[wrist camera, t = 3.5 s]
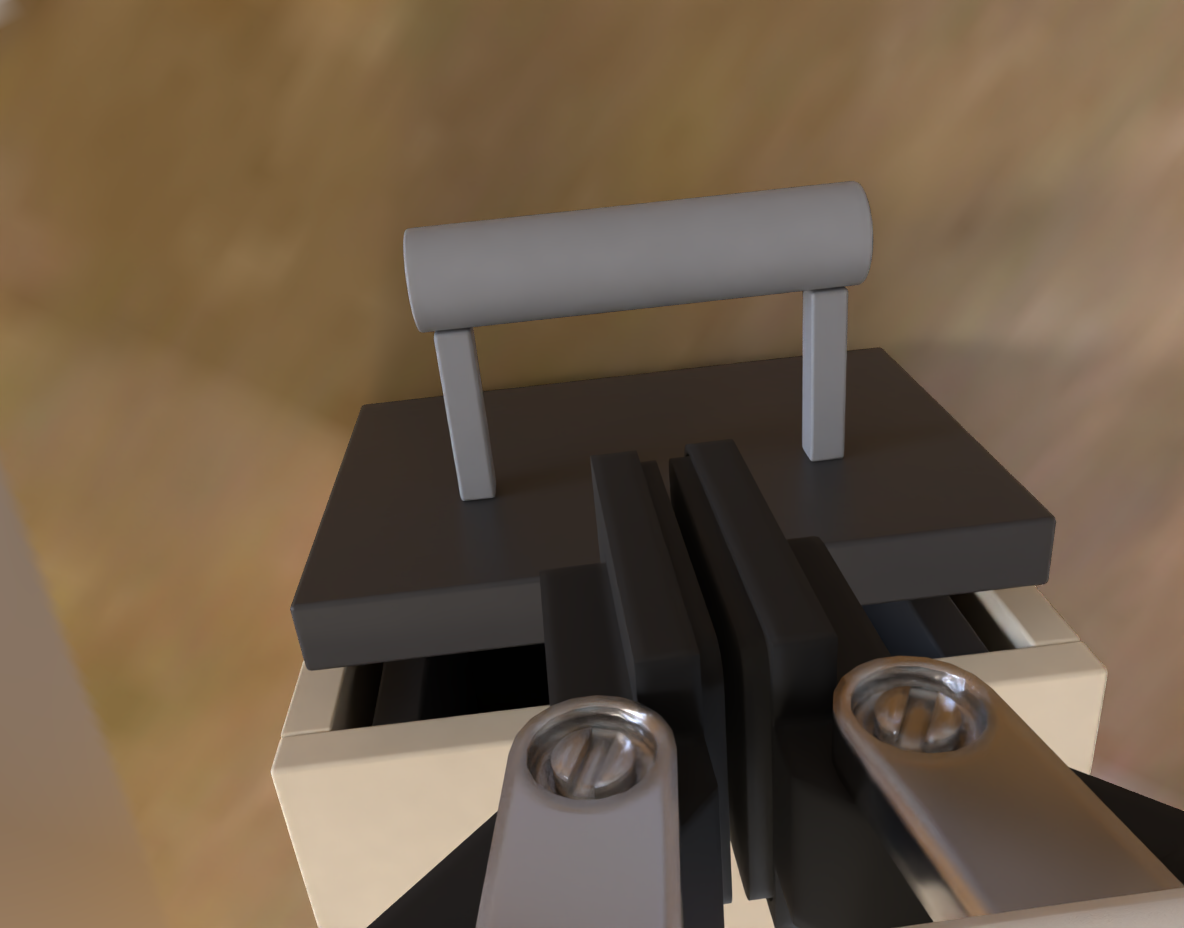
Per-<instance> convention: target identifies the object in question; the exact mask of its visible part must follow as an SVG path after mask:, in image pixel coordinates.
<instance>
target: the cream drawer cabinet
mask: <svg viewBox="0 0 1184 928" xmlns="http://www.w3.org/2000/svg"><path fill="white" fill-rule="evenodd" d="M949 596H950V598H951V599H952V601H953V602H954V603H955V605H956V606H957V607H958V609H959V610H960V612H961V613H962V614H963V616H964V617H965V619H966V620H967V621H968V623H969V624H970V626H971V627H972V628H973V630H974V631H975V633H976V634H977V635H978V637H979V638H980V640H981V641H982V642H983V644H984V645H985V646H986V648H987V649H988V651H989V652H986V653H978V654H969V655H961V656H953V657H944V658H936V659H935V660H939V661H943V662H947V663H951V664H953V665H956V666H958V667H960V668H962V669H964V670H966V671H968V672H970V673H973V674H975V675H976V676H977V677H978V678H980V679H981V680H982V681H983V682H985V683H986V684H987V685H989V686H990V687H991V688H992V689H993V690H994V691H995V692H996V693H997V694H998V695H999V696H1000V697H1001V698H1002V699H1003V700H1004V701H1005V702H1006V703H1007V704H1008V705H1009V706H1010V707H1011V708H1012V709H1013V710H1014V711H1015V712H1016V713H1017V714H1018V715H1019V716H1020V717H1021V718H1022V719H1023V720H1024V721H1025V722H1026V724H1027V725H1028V726H1029V727H1030V728H1031V729H1032V730H1033V731H1034V732H1035V733H1036V734H1037V735H1038V736H1039V737H1040V738H1041V739H1042V740H1043V741H1044V742H1045V743H1046V744H1047V745H1048V746H1049V747H1050V748H1051V749H1052V750H1053V751H1054V752H1055V753H1056V754H1057V755H1058V756H1059V757H1060V758H1061V760H1062V761H1063V762H1064V763H1065V764H1066V765H1067V766H1068V767H1070V768H1073V769H1075V770H1078V771H1080V772H1083V773H1086V774H1088V775H1090V774H1091V768H1092V762H1093V756H1094V751H1095V745H1096V739H1097V733H1098V728H1099V722H1100V716H1101V710H1102V705H1103V699H1104V693H1105V687H1106V682H1107V676H1108V672H1107V669H1106V667H1105V666H1104V665H1103V664H1102V663H1101V662H1100V660H1099V659H1098V658H1097V657H1096V656H1095V655H1094V654H1093V652H1092V651H1091V650H1090V649H1089V648H1088V647H1087V645H1086V644H1085V643H1083V642H1080V638H1079V636H1078V635H1077V634H1076V633H1075V632H1074V630H1073V629H1072V628H1071V627H1070V626H1069V625H1068V623H1067V622H1066V621H1065V620H1064V619H1063V618H1062V617H1061V615H1060V614H1059V613H1058V612H1057V611H1056V610H1055V609H1054V607H1053V606H1052V605H1051V604H1050V603H1049V602H1048V601H1047V599H1046V598H1045V597H1044V596H1043V595H1042V594H1041V593H1040V591H1039V590H1038V589H1037V588H1036V587H1035V586H1034V585H1033V586H1025V587H1016V588H1008V589H999V590H991V591H983V592H974V593H966V594H957V595H949ZM383 665H384V662H382V663H374V664H365V665H357V666H348V667H340V668H331V669H323V670H314V671H310V670H308V669H307V668H306V666H305V662H304V661H303V664H302V668H301V671H300V674H299V677H298V681H297V684H296V687H295V690H294V694H293V697H292V700H291V703H290V707H289V710H288V713H287V716H286V720H285V723H284V726H283V729H282V733H281V737H282V738H281V739H280V742H279V746H278V749H277V752H276V755H275V759H274V762H273V765H272V768H271V775H272V779H273V782H274V785H275V788H276V792H277V795H278V798H279V801H280V805H281V808H282V811H283V814H284V818H285V821H286V824H287V828H288V831H289V834H290V837H291V841H292V844H293V847H294V850H295V854H296V857H297V860H298V863H299V867H300V870H301V873H302V876H303V880H304V883H305V886H306V889H307V893H308V896H309V899H310V902H311V906H312V909H313V912H314V915H315V919H316V922H317V925H318V928H366V927H368V926H369V925H370V924H371V923H372V922H373V921H374V920H375V919H377V918H378V917H379V916H380V915H381V914H382V913H383V912H384V911H386V910H387V909H388V908H389V907H390V906H391V905H392V904H393V903H395V902H396V901H397V900H398V899H399V898H400V897H401V896H402V895H404V894H405V893H406V892H407V891H408V890H409V889H410V888H411V887H413V886H414V885H415V884H416V883H417V882H418V881H419V880H420V879H422V878H423V877H424V876H425V875H426V874H427V873H428V872H429V871H431V870H432V869H433V868H434V867H435V866H436V865H437V864H438V863H440V862H441V861H442V860H443V859H444V858H445V857H446V856H447V855H449V854H450V853H451V852H452V851H453V850H454V849H455V848H456V847H458V846H459V845H460V844H461V843H462V842H463V841H464V840H465V839H467V838H468V837H469V836H470V835H471V834H472V833H473V832H474V831H476V830H477V829H478V828H479V827H480V826H481V825H482V824H483V823H485V822H486V821H487V820H488V819H489V818H490V817H491V816H492V815H494V814H495V813H496V812H497V811H498V806H499V801H500V796H501V791H502V785H503V780H504V775H505V769H506V764H507V759H508V754H509V751H510V748H511V746H512V743H513V741H514V738H515V736H516V734H517V733H518V732H519V731H520V730H521V729H522V727H523V726H524V725H525V724H526V723H527V722H528V721H529V720H530V719H531V718H532V717H534V716H536V715H537V714H539V713H540V712H542V711H543V710H545V709H546V708H548V707H550V705H544V706H536V707H527V708H519V709H511V710H502V711H494V712H486V713H477V714H469V715H461V716H452V717H444V718H436V719H427V720H419V721H411V722H402V723H394V724H386V725H377V726H372V723H373V718H374V713H375V707H376V702H377V697H378V691H379V686H380V681H381V675H382V670H383ZM730 847H731V873H732V903H729V904H724V927H725V928H775V927H774V924H773V920H772V917H771V914H770V910H769V907H768V904H767V900H766V898H765V899H758V900H751V901H749V900H748V899H747V897H746V894H745V891H744V888H743V885H742V881H741V877H740V874H739V870H738V867H737V863H736V859H735V856H734V852H733V849H732V845H731V841H730Z"/></svg>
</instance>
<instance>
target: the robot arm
mask: <svg viewBox="0 0 1184 928" xmlns="http://www.w3.org/2000/svg"><path fill="white" fill-rule="evenodd" d="M591 472H592V482H593V492H594V502H595V512H596V522H597V532H598V542H599V552H600V562H601V563H594V564H586V565H578V566H570V567H562V568H554V569H546V570H539V576H540V589H541V602H542V614H543V627H544V640H545V652H546V665H547V678H548V690H549V703H550V707H548V708H546V709H545V710H543V711H542V712H540V713H539V714H537V715H536V716H534V717H532V718H531V719H530V720H529V721H528V722H527V723H526V724H525V725H524V726H523V727H522V729H521V730H520V731H519V732H518V733H517V734H516V736H515V738H514V741H513V743H512V746H511V748H510V751H509V754H508V759H507V764H506V769H505V775H504V780H503V785H502V791H501V796H500V801H499V806H498V811H497V812H496V813H495V814H494V815H492V816H491V817H490V818H489V819H488V820H487V821H486V822H485V823H483V824H482V825H481V826H480V827H479V828H478V829H477V830H476V831H474V832H473V833H472V834H471V835H470V836H469V837H468V838H467V839H465V840H464V841H463V842H462V843H461V844H460V845H459V846H458V847H456V848H455V849H454V850H453V851H452V852H451V853H450V854H449V855H447V856H446V857H445V858H444V859H443V860H442V861H441V862H440V863H438V864H437V865H436V866H435V867H434V868H433V869H432V870H431V871H429V872H428V873H427V874H426V875H425V876H424V877H423V878H422V879H420V880H419V881H418V882H417V883H416V884H415V885H414V886H413V887H411V888H410V889H409V890H408V891H407V892H406V893H405V894H404V895H402V896H401V897H400V898H399V899H398V900H397V901H396V902H395V903H393V904H392V905H391V906H390V907H389V908H388V909H387V910H386V911H384V912H383V913H382V914H381V915H380V916H379V917H378V918H377V919H375V920H374V921H373V922H372V923H371V924H370V925H369V926H368V927H366V928H725V927H724V904H729V903H732V873H731V847H730V841H731V845H732V849H733V852H734V856H735V859H736V863H737V867H738V870H739V874H740V877H741V881H742V885H743V888H744V891H745V894H746V897H747V899H748V900H749V901H751V900H758V899H765V898H766V900H767V904H768V907H769V910H770V914H771V917H772V920H773V924H774V927H775V928H1184V811H1182V810H1179V809H1177V808H1174V807H1171V806H1169V805H1166V804H1164V803H1161V802H1158V801H1156V800H1153V799H1151V798H1148V797H1145V796H1143V795H1140V794H1138V793H1135V792H1132V791H1130V790H1127V789H1125V788H1122V787H1119V786H1117V785H1114V784H1112V783H1109V782H1106V781H1104V780H1101V779H1099V778H1096V777H1093V776H1091V775H1088V774H1086V773H1083V772H1080V771H1078V770H1075V769H1073V768H1070V767H1068V766H1067V765H1066V764H1065V763H1064V762H1063V761H1062V760H1061V758H1060V757H1059V756H1058V755H1057V754H1056V753H1055V752H1054V751H1053V750H1052V749H1051V748H1050V747H1049V746H1048V745H1047V744H1046V743H1045V742H1044V741H1043V740H1042V739H1041V738H1040V737H1039V736H1038V735H1037V734H1036V733H1035V732H1034V731H1033V730H1032V729H1031V728H1030V727H1029V726H1028V725H1027V724H1026V722H1025V721H1024V720H1023V719H1022V718H1021V717H1020V716H1019V715H1018V714H1017V713H1016V712H1015V711H1014V710H1013V709H1012V708H1011V707H1010V706H1009V705H1008V704H1007V703H1006V702H1005V701H1004V700H1003V699H1002V698H1001V697H1000V696H999V695H998V694H997V693H996V692H995V691H994V690H993V689H992V688H991V687H990V686H989V685H987V684H986V683H985V682H983V681H982V680H981V679H980V678H978V677H977V676H976V675H975V674H973V673H970V672H968V671H966V670H964V669H962V668H960V667H958V666H956V665H953V664H951V663H947V662H943V661H939V660H935V659H931V658H927V657H915V656H893V657H892V656H891V655H890V653H889V651H888V650H887V648H886V646H885V645H884V643H883V641H882V640H881V638H880V636H879V635H878V633H877V631H876V630H875V628H874V626H873V625H872V623H871V621H870V619H869V618H868V616H867V614H866V613H865V611H864V609H863V608H862V606H861V604H860V603H859V601H858V599H857V598H856V596H855V594H854V593H853V591H852V589H851V588H850V586H849V584H848V582H847V581H846V579H845V577H844V576H843V574H842V572H841V571H840V569H839V567H838V566H837V564H836V562H835V561H834V559H833V557H832V556H831V554H830V552H829V551H828V549H827V547H826V546H825V544H824V542H823V541H822V540H821V539H820V538H819V537H817V536H810V537H802V538H794V539H786V538H785V536H784V534H783V532H782V531H781V529H780V527H779V525H778V523H777V521H776V519H775V517H774V515H773V514H772V512H771V510H770V508H769V506H768V504H767V502H766V500H765V499H764V497H763V495H762V493H761V491H760V489H759V487H758V485H757V483H756V482H755V480H754V478H753V476H752V474H751V472H750V470H749V468H748V466H747V465H746V463H745V461H744V459H743V457H742V455H741V453H740V451H739V450H738V448H737V446H736V444H735V442H734V441H733V439H726V440H717V441H709V442H701V443H693V444H686V445H685V449H684V457H677V458H670V459H669V483H670V499H671V502H670V499H669V496H668V493H667V491H666V488H665V485H664V482H663V479H662V476H661V473H660V470H659V467H658V464H657V462H656V460H652V461H644V462H640V460H639V456H638V453H637V451H636V450H634V451H626V452H618V453H610V454H601V455H593V456H591Z"/></svg>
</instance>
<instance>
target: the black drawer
mask: <svg viewBox="0 0 1184 928" xmlns="http://www.w3.org/2000/svg"><path fill="white" fill-rule="evenodd" d="M403 251H404V266H405V275H406V282H407V289H408V295H409V300H410V305H411V310H412V314H413V317H414V321H415V324H416V326H417V328H418V330H419V331H420V332H432V331H435V335H434V342H435V348H436V354H437V360H438V366H439V372H440V378H441V384H442V390H443V396H438V397H429V398H421V399H412V400H403V401H394V402H385V403H376V404H367V405H363V406H362V407H361V410H360V413H359V416H358V418H357V421H356V424H355V427H354V430H353V433H352V435H351V438H350V441H349V444H348V447H347V449H346V452H345V455H344V458H343V461H342V464H341V466H340V469H339V472H338V475H337V478H336V480H335V483H334V486H333V489H332V492H331V495H330V497H329V500H328V503H327V506H326V509H325V511H324V514H323V517H322V520H321V523H320V526H319V528H318V531H317V534H316V537H315V540H314V542H313V545H312V548H311V551H310V554H309V557H308V559H307V562H306V565H305V568H304V571H303V573H302V576H301V579H300V582H299V585H298V588H297V590H296V593H295V596H294V599H293V602H292V605H291V608H290V610H291V614H292V618H293V621H294V625H295V629H296V632H297V636H298V640H299V643H300V647H301V651H302V655H303V658H304V662H305V666H306V668H307V669H308V670H310V671H314V670H323V669H331V668H340V667H348V666H357V665H365V664H374V663H382V662H384V665H383V670H382V675H381V681H380V686H379V691H378V697H377V702H376V707H375V713H374V718H373V723H372V726H377V725H386V724H394V723H402V722H411V721H419V720H427V719H436V718H444V717H452V716H461V715H469V714H477V713H486V712H494V711H502V710H511V709H519V708H527V707H536V706H544V705H550V703H549V690H548V678H547V665H546V652H545V640H544V627H543V614H542V602H541V589H540V576H539V570H546V569H554V568H562V567H570V566H578V565H586V564H594V563H601V562H600V552H599V542H598V532H597V522H596V512H595V502H594V492H593V482H592V472H591V456H593V455H601V454H610V453H618V452H626V451H634V450H636V451H637V453H638V456H639V460H640V462H644V461H652V460H656V462H657V464H658V467H659V470H660V473H661V476H662V479H663V482H664V485H665V488H666V491H667V493H668V496H669V499H670V483H669V459H670V458H677V457H684V449H685V445H686V444H693V443H701V442H709V441H717V440H726V439H733V441H734V442H735V444H736V446H737V448H738V450H739V451H740V453H741V455H742V457H743V459H744V461H745V463H746V465H747V466H748V468H749V470H750V472H751V474H752V476H753V478H754V480H755V482H756V483H757V485H758V487H759V489H760V491H761V493H762V495H763V497H764V499H765V500H766V502H767V504H768V506H769V508H770V510H771V512H772V514H773V515H774V517H775V519H776V521H777V523H778V525H779V527H780V529H781V531H782V532H783V534H784V536H785V538H786V539H794V538H802V537H810V536H817V537H819V538H820V539H821V540H822V541H823V542H824V544H825V546H826V547H827V549H828V551H829V552H830V554H831V556H832V557H833V559H834V561H835V562H836V564H837V566H838V567H839V569H840V571H841V572H842V574H843V576H844V577H845V579H846V581H847V582H848V584H849V586H850V588H851V589H852V591H853V593H854V594H855V596H856V598H857V599H858V601H859V603H860V604H861V606H862V608H863V609H864V611H865V613H866V614H867V616H868V618H869V619H870V621H871V623H872V625H873V626H874V628H875V630H876V631H877V633H878V635H879V636H880V638H881V640H882V641H883V643H884V645H885V646H886V648H887V650H888V651H889V653H890V655H891V656H892V657H893V656H915V657H927V658H931V659H936V658H944V657H953V656H961V655H969V654H978V653H986V652H989V651H988V649H987V648H986V646H985V645H984V644H983V642H982V641H981V640H980V638H979V637H978V635H977V634H976V633H975V631H974V630H973V628H972V627H971V626H970V624H969V623H968V621H967V620H966V619H965V617H964V616H963V614H962V613H961V612H960V610H959V609H958V607H957V606H956V605H955V603H954V602H953V601H952V599H951V598H950V596H949V595H957V594H966V593H974V592H983V591H991V590H999V589H1008V588H1016V587H1025V586H1033V585H1042V584H1045V583H1047V582H1048V578H1049V571H1050V563H1051V556H1052V548H1053V541H1054V533H1055V526H1056V520H1055V517H1054V516H1053V515H1052V514H1051V513H1050V512H1049V511H1048V510H1047V509H1046V508H1045V507H1044V506H1043V505H1042V504H1041V503H1040V502H1039V501H1038V500H1037V499H1036V498H1035V497H1034V496H1033V495H1032V494H1031V493H1030V492H1029V491H1028V490H1027V489H1026V488H1025V487H1024V486H1022V485H1021V484H1020V483H1019V482H1018V481H1017V480H1016V479H1015V478H1014V477H1013V476H1012V475H1011V474H1010V473H1009V472H1008V471H1007V470H1006V469H1005V468H1004V467H1003V466H1002V465H1001V464H1000V463H999V462H998V461H997V460H996V459H995V458H994V457H993V456H992V455H991V454H990V453H989V452H988V451H987V450H986V449H985V448H984V447H983V446H982V445H981V444H980V443H978V442H977V441H976V440H975V439H974V438H973V437H972V436H971V435H970V434H969V433H968V432H967V431H966V430H965V429H964V428H963V427H962V426H961V425H960V424H959V423H958V422H957V421H956V420H955V419H954V418H953V417H952V416H951V415H950V414H949V413H948V412H947V411H946V410H945V409H944V408H943V407H942V406H941V405H940V404H939V403H938V402H937V401H936V400H935V399H933V398H932V397H931V396H930V395H929V394H928V393H927V392H926V391H925V390H924V389H923V388H922V387H921V386H920V385H919V384H918V383H917V382H916V381H915V380H914V379H913V378H912V377H911V376H910V375H909V374H908V373H907V372H906V371H905V370H904V369H903V368H902V367H901V366H900V365H899V364H898V363H897V362H896V361H895V360H894V359H893V358H892V357H891V356H890V355H888V354H887V353H886V352H885V351H884V350H883V349H882V348H870V349H861V350H852V351H847V322H848V290H847V289H846V288H845V287H844V286H852V285H859V284H861V283H863V282H864V281H865V279H866V277H867V275H868V273H869V270H870V265H871V260H872V252H873V225H872V217H871V211H870V206H869V202H868V199H867V196H866V193H865V191H864V189H863V187H862V186H861V185H860V184H859V183H858V182H855V181H847V182H838V183H829V184H819V185H810V186H801V187H791V188H782V189H772V190H763V191H754V192H744V193H735V194H726V195H716V196H707V197H697V198H688V199H679V200H669V201H660V202H650V203H641V204H632V205H622V206H613V207H604V208H594V209H585V210H575V211H566V212H557V213H547V214H538V215H529V216H519V217H510V218H500V219H491V220H482V221H472V222H463V223H454V224H444V225H435V226H425V227H416V228H408V229H406V230H405V233H404V240H403ZM797 291H803V356H798V357H789V358H780V359H771V360H762V361H753V362H744V363H735V364H726V365H717V366H708V367H699V368H690V369H681V370H672V371H663V372H654V373H645V374H636V375H627V376H618V377H609V378H600V379H591V380H582V381H573V382H564V383H555V384H546V385H537V386H528V387H519V388H510V389H501V390H492V391H483V390H482V383H481V377H480V370H479V363H478V356H477V350H476V343H475V336H474V330H473V327H478V326H487V325H496V324H505V323H514V322H523V321H532V320H542V319H551V318H560V317H569V316H578V315H587V314H596V313H606V312H615V311H624V310H633V309H642V308H651V307H660V306H669V305H679V304H688V303H697V302H706V301H715V300H724V299H733V298H743V297H752V296H761V295H770V294H779V293H788V292H797ZM670 502H671V499H670Z"/></svg>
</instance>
